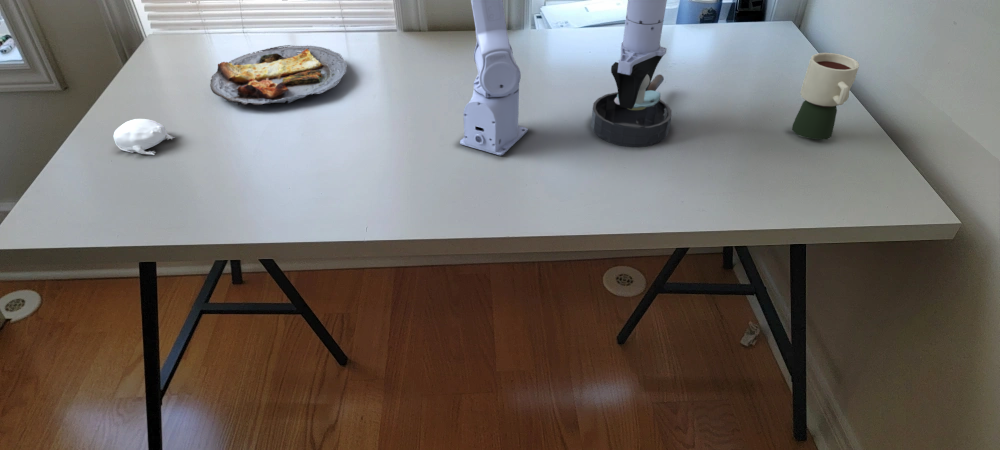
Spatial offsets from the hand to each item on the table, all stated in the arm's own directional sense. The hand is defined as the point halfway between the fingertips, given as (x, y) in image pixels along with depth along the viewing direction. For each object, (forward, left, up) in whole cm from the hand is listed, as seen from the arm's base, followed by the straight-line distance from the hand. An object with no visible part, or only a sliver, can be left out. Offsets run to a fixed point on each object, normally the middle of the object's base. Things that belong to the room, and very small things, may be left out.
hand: (633, 98), depth 108 cm
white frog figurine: (-44, +68, -6) cm, 80 cm away
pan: (0, 0, -5) cm, 5 cm away
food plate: (-16, +65, -6) cm, 67 cm away
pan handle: (+11, 0, -3) cm, 11 cm away
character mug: (+12, -27, -6) cm, 31 cm away
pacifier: (+1, 0, -2) cm, 2 cm away
